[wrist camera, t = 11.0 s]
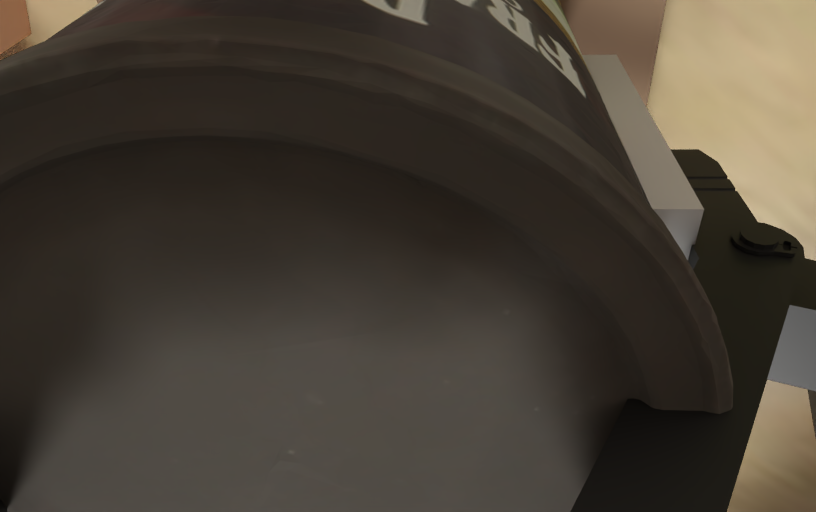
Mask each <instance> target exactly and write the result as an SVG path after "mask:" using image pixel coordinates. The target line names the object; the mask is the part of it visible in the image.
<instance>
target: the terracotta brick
mask: <svg viewBox="0 0 816 512" xmlns="http://www.w3.org/2000/svg"><path fill="white" fill-rule="evenodd" d="M30 34H31V29H30V24H29V18H28V13H27V8H26V2H25V0H0V54H2V53H3V52H5V51H6V50H8V49H9V48H11V47H12V46H14V45H15V44H17V43H18V42H20V41H21V40H23V39H24V38H25V37H27V36H28V35H30Z"/></svg>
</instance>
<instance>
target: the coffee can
mask: <svg viewBox="0 0 816 512" xmlns="http://www.w3.org/2000/svg"><path fill="white" fill-rule="evenodd" d="M632 398H634V399H639V400H641V401H643V402H644V403H646V404H647V405H649V406H650V407H652V408H655V409H660V410H688V411H706V412H710V413H715V414H721V413H724V412H726V411H729V410H731V409H732V407H733V379H732V374H731V369H730V364H729V358H728V353H727V349H726V346H725V343H724V340H723V337H722V334H721V331H720V328H719V325H718V321H717V316H716V314H715V312H714V310H713V308H712V306H711V304H710V302H709V300H708V297H707V295H706V293H705V291H704V289H703V287H702V285H701V283H700V282H699V280H698V278H697V276H696V274H695V273H694V271H693V269H692V267H691V265H690V264H689V262H688V260H687V258H686V257H685V255H684V253H683V251H682V250H681V248H680V247H679V245H678V244H677V242H676V241H675V239H674V238H673V236H672V234H671V233H670V231H669V230H668V228H667V227H666V225H665V224H664V222H663V221H662V219H661V218H660V217H659V216H658V215H657V214H656V212H655V211H654V210H653V209H652V208H651V206H650V205H649V204H648V203H647V202H646V200H645V197H644V195H643V193H642V190H641V188H640V185H639V183H638V181H637V178H636V176H635V173H634V171H633V169H632V167H631V164H630V161H629V158H628V156H627V154H626V151H625V149H624V147H623V145H622V143H621V141H620V139H619V136H618V134H617V132H616V130H615V127H614V125H613V123H612V121H611V119H610V117H609V114H608V111H607V109H606V107H605V104H604V102H603V100H602V98H601V95H600V93H599V91H598V90H597V87H596V85H595V83H594V81H593V79H592V76H591V74H590V72H589V69H588V67H587V65H586V63H585V60H584V58H583V56H582V53H581V51H580V49H579V46H578V44H577V42H576V40H575V37H574V35H573V33H572V31H571V28H570V26H569V23H568V21H567V18H566V16H565V14H564V11H563V9H562V6H561V3H560V1H559V0H103V1H102V2H100V3H98V4H97V5H96V6H95V7H94V8H92V9H91V10H89V11H88V12H86V13H85V14H84V15H82V16H81V17H80V18H78V19H77V20H75V21H74V22H72V23H71V24H69V25H68V26H66V27H65V28H63V29H62V30H61V31H59V32H58V33H56V34H55V35H53V36H52V37H51V38H49V39H48V40H46V41H44V42H42V43H40V44H37V45H35V46H32V47H30V48H28V49H25V50H23V51H20V52H18V53H16V54H14V55H12V56H9V57H7V58H5V59H3V60H1V61H0V499H1V500H2V502H3V503H4V505H5V506H6V508H7V512H570V511H571V510H572V508H573V506H574V504H575V502H576V500H577V498H578V496H579V494H580V492H581V490H582V488H583V486H584V484H585V482H586V480H587V478H588V476H589V474H590V472H591V470H592V468H593V466H594V464H595V462H596V460H597V458H598V456H599V454H600V452H601V450H602V448H603V446H604V444H605V443H606V441H607V439H608V437H609V435H610V433H611V431H612V429H613V427H614V425H615V423H616V421H617V419H618V417H619V415H620V413H621V411H622V409H623V407H624V405H625V403H626V401H627V399H632Z"/></svg>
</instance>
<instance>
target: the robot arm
mask: <svg viewBox="0 0 816 512" xmlns="http://www.w3.org/2000/svg"><path fill="white" fill-rule="evenodd" d="M582 56H583V58H584V60H585V63H586V65H587V67H588V69H589V72H590V74H591V76H592V79H593V81H594V83H595V85H596V87H597V90H598V91H599V93H600V95H601V98H602V100H603V102H604V104H605V107H606V109H607V111H608V114H609V117H610V119H611V121H612V123H613V125H614V127H615V130H616V132H617V134H618V136H619V139H620V141H621V143H622V145H623V147H624V149H625V151H626V154H627V156H628V158H629V161H630V164H631V167H632V169H633V171H634V173H635V176H636V178H637V181H638V183H639V185H640V188H641V190H642V193H643V195H644V197H645V200H646V202H647V203H648V204H649V205H650V206H651V208H652V209H653V210H654V211H655V212H656V214H657V215H658V216H659V217H660V218H661V219H662V221H663V222H664V224H665V225H666V227H667V228H668V230H669V231H670V233H671V234H672V236H673V238H674V239H675V241H676V242H677V244H678V245H679V247H680V248H681V250H682V251H683V253H684V255H685V257H686V258H687V260H688V262H689V264H690V265H691V267H692V269H693V271H694V273H695V274H696V276H697V278H698V280H699V282H700V283H701V285H702V287H703V289H704V291H705V293H706V295H707V297H708V300H709V302H710V304H711V306H712V308H713V310H714V312H715V314H716V316H717V321H718V325H719V328H720V331H721V334H722V337H723V340H724V343H725V346H726V349H727V353H728V358H729V364H730V369H731V374H732V379H733V407H732V409H731V410H729V411H726V412H724V413H721V414H715V413H710V412H706V411H688V410H660V409H655V408H652V407H650V406H649V405H647V404H646V403H644V402H643V401H641V400H639V399H634V398H632V399H627V401H626V403H625V405H624V407H623V409H622V411H621V413H620V415H619V417H618V419H617V421H616V423H615V425H614V427H613V429H612V431H611V433H610V435H609V437H608V439H607V441H606V443H605V444H604V446H603V448H602V450H601V452H600V454H599V456H598V458H597V460H596V462H595V464H594V466H593V468H592V470H591V472H590V474H589V476H588V478H587V480H586V482H585V484H584V486H583V488H582V490H581V492H580V494H579V496H578V498H577V500H576V502H575V504H574V506H573V508H572V510H571V511H570V512H727V509H728V506H729V502H730V499H731V496H732V492H733V489H734V486H735V483H736V479H737V476H738V473H739V469H740V466H741V463H742V460H743V456H744V453H745V450H746V447H747V443H748V440H749V437H750V433H751V430H752V427H753V424H754V420H755V417H756V414H757V410H758V407H759V404H760V401H761V397H762V394H763V391H764V387H765V384H766V381H767V380H771V381H775V382H779V383H784V384H788V385H792V386H796V387H800V388H804V389H808V394H809V400H810V406H811V412H812V419H813V425H814V431H815V437H816V261H814V260H810V259H806V258H804V249H803V246H802V245H801V244H800V243H799V242H798V240H797V239H796V238H795V237H793V236H792V235H790V234H788V233H787V232H785V231H784V230H782V229H779V228H776V227H774V226H771V225H768V224H765V223H759V222H757V220H756V219H755V217H754V216H753V214H752V213H751V211H750V210H749V208H748V207H747V205H746V204H745V202H744V201H743V199H742V198H741V196H740V195H739V193H738V192H737V191H735V187H734V186H733V184H732V183H731V181H730V180H729V179H727V175H726V174H725V172H724V171H723V169H722V168H721V166H720V165H719V163H718V162H717V161H715V160H714V159H712V158H711V157H709V156H708V155H706V154H705V153H703V152H702V151H700V150H670V148H669V146H668V145H667V143H666V141H665V139H664V138H663V136H662V134H661V132H660V131H659V129H658V127H657V125H656V123H655V122H654V120H653V118H652V116H651V115H650V113H649V111H648V109H647V108H646V106H645V104H644V102H643V101H642V99H641V97H640V95H639V94H638V92H637V90H636V88H635V86H634V85H633V83H632V81H631V79H630V78H629V76H628V74H627V72H626V71H625V69H624V67H623V65H622V64H621V62H620V60H619V58H618V57H617V55H582ZM0 512H7V508H6V506H5V505H4V503H3V502H2V500H1V499H0Z"/></svg>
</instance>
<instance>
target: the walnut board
mask: <svg viewBox="0 0 816 512" xmlns="http://www.w3.org/2000/svg"><path fill="white" fill-rule="evenodd" d="M102 1H103V0H97V2H98V3H100V2H102ZM559 1H560V3H561V6H562V9H563V11H564V14H565V16H566V18H567V21H568V23H569V26H570V28H571V31H572V33H573V35H574V37H575V40H576V42H577V44H578V46H579V49H580V51H581V53H582V55H617V57H618V58H619V60H620V62H621V64H622V65H623V67H624V69H625V71H626V72H627V74H628V76H629V78H630V79H631V81H632V83H633V85H634V86H635V88H636V90H637V92H638V94H639V95H640V97H641V99H642V101H643V102H644V104H645V106H647V101H648V96H649V90H650V85H651V80H652V74H653V69H654V64H655V58H656V53H657V48H658V42H659V37H660V32H661V26H662V21H663V16H664V11H665V5H666V0H559Z"/></svg>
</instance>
